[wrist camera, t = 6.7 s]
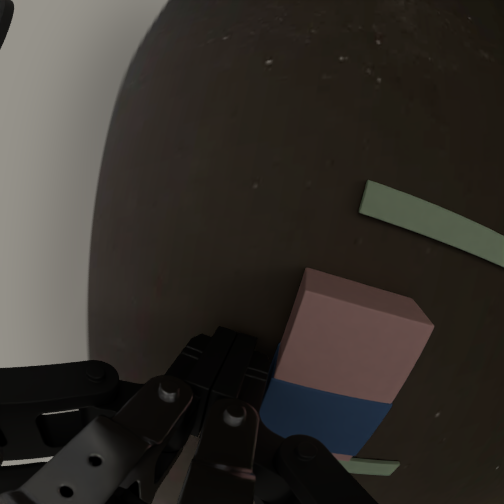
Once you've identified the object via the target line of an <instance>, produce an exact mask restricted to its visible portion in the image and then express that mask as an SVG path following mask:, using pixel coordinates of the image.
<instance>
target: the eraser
mask: <svg viewBox="0 0 504 504" xmlns="http://www.w3.org/2000/svg"><path fill="white" fill-rule="evenodd" d="M433 328H434V325H433V324H432V323H431V321H430V320H429V319H428V317H427V316H426V315H425V314H424V312H423V311H422V310H421V309H420V307H419V306H418V305H417V304H416V303H415V301H414V300H413V299H412V298H409V297H405V296H402V295H399V294H395V293H392V292H389V291H385V290H382V289H378V288H375V287H372V286H368V285H365V284H362V283H358V282H355V281H351V280H348V279H345V278H341V277H338V276H334V275H331V274H328V273H324V272H321V271H318V270H314V269H311V268H305V271H304V275H303V278H302V281H301V284H300V287H299V290H298V293H297V296H296V299H295V302H294V305H293V308H292V311H291V314H290V317H289V320H288V323H287V325H286V328H285V331H284V334H283V337H282V340H281V342H280V343H279V344H278V346H277V349H276V352H275V354H274V357H273V360H272V363H271V365H270V369H269V374H268V378H267V382H266V386H265V391H264V395H263V399H262V403H261V407H260V417H261V420H262V422H263V423H264V425H265V426H266V427H267V428H268V429H270V430H271V431H272V432H274V433H276V434H278V435H280V436H282V437H284V438H287V437H289V436H291V435H296V434H303V435H308V436H311V437H314V438H316V439H318V440H319V441H320V442H322V443H323V444H324V445H325V446H326V448H327V449H328V450H329V451H330V452H331V453H332V454H333V456H334V457H335V458H336V459H337V460H341V461H349V460H350V459H351V458H352V457H353V456H356V454H357V453H358V452H359V451H360V449H361V448H362V447H363V446H364V444H365V443H366V442H367V440H368V439H369V438H370V436H371V435H372V434H373V432H374V431H375V430H376V428H377V427H378V426H379V424H380V423H381V421H382V420H383V419H384V417H385V416H386V414H387V413H388V411H389V410H390V408H391V407H392V401H393V400H394V398H395V397H396V395H397V394H398V392H399V390H400V389H401V387H402V386H403V384H404V382H405V381H406V379H407V377H408V376H409V374H410V372H411V370H412V369H413V367H414V365H415V363H416V361H417V360H418V358H419V356H420V354H421V352H422V350H423V348H424V346H425V345H426V343H427V341H428V339H429V337H430V335H431V333H432V331H433Z"/></svg>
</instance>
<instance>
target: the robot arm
mask: <svg viewBox="0 0 504 504" xmlns="http://www.w3.org/2000/svg"><path fill="white" fill-rule="evenodd" d="M237 334H238V335H237ZM256 341H257V338H255V337H252V336H249V335H246V334H243V333H238V332H236V331H233V330H230V329H227V328H224V327H221V326H219V327H218V328H217V330H216V332H215V333H214V335H213V336H212V337H210V336H207V335H204V334H200V335H198V336H196V337H193V338H192V339H191V340H190V341H189V343H188V344H187V345H186V347H185V348H184V349H183V351H182V352H181V354H180V355H179V356H178V357H177V359H176V360H175V361H174V363H173V364H172V365H171V367H170V368H169V369H168V371H167V372H166V373H165V375H160V376H156V377H153V378H151V379H150V380H149V381H147V382H146V384H137V383H132V382H127V381H122V380H119V375H118V372H117V371H116V369H115V368H114V367H112V366H111V365H110V364H108V363H105V362H103V361H98V360H88V361H80V362H71V363H63V364H52V365H41V366H28V367H13V368H0V504H152V501H153V499H154V496H155V494H156V492H157V490H158V488H159V486H160V485H161V483H162V482H163V480H164V479H165V477H166V476H167V474H168V473H169V471H170V470H171V468H172V466H173V465H174V463H175V462H176V460H177V459H178V457H179V456H180V454H181V452H182V450H183V446H184V445H185V444H186V442H187V440H188V438H189V436H190V434H191V435H194V436H196V437H198V435H199V433H200V431H201V433H200V437H199V438H200V440H199V443H198V446H197V449H196V452H195V455H194V458H193V459H192V461H191V463H190V466H189V469H188V472H187V475H186V478H185V481H184V484H183V487H182V490H181V492H180V495H179V498H178V501H177V504H253V499H254V501H255V503H256V504H378V503H377V502H376V501H375V500H374V499H373V498H372V497H371V496H370V495H369V494H368V492H367V491H366V490H365V489H364V488H363V487H362V486H361V485H360V484H359V483H358V482H357V481H356V480H355V479H354V478H353V477H352V475H351V474H350V473H349V472H348V471H347V470H346V469H345V468H344V467H343V466H342V464H341V463H340V462H339V461H338V460H337V459H336V458H335V457H334V456H333V454H332V453H331V452H330V451H329V450H328V449H327V448H326V446H325V445H324V444H323V443H322V442H320V441H319V440H318V439H316V438H314V437H311V436H308V435H303V434H296V435H291V436H289V437H287V438H284V437H282V436H280V435H278V434H276V433H274V432H272V431H271V430H270V429H268V428H267V427H266V426H265V425H264V423H263V422H262V420H261V417H260V407H261V403H262V399H263V395H264V391H265V386H266V382H267V378H268V374H269V369H270V365H271V363H270V361H269V358H268V356H267V354H263V353H260V352H257V351H254V348H255V344H256ZM73 409H79V411H72V412H65V413H57V414H49V415H42V414H43V413H50V412H59V411H66V410H73ZM201 428H202V429H201ZM51 456H54V457H53V458H52V459H51V460H50V461H48V462H37V463H29V464H21V465H11V466H1V464H2V462H3V461H8V460H23V459H34V458H43V457H51Z"/></svg>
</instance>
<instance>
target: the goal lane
mask: <svg viewBox="0 0 504 504" xmlns="http://www.w3.org/2000/svg"><path fill="white" fill-rule="evenodd" d="M358 212H359V213H361V214H364V215H367V216H370V217H373V218H376V219H379V220H382V221H385V222H388V223H391V224H394V225H397V226H400V227H403V228H405V229H408V230H411V231H414V232H417V233H419V234H422V235H425V236H428V237H430V238H433V239H436V240H438V241H441V242H443V243H446V244H449V245H451V246H454V247H456V248H459V249H461V250H464V251H466V252H469V253H471V254H474V255H476V256H479V257H481V258H483V259H486V260H488V261H490V262H493V263H495V264H497V265H500V266H502V267H504V236H503V235H501V234H499V233H497V232H495V231H493V230H491V229H489V228H487V227H484V226H482V225H480V224H478V223H476V222H474V221H472V220H469V219H467V218H465V217H463V216H461V215H458V214H456V213H454V212H451V211H449V210H447V209H444V208H442V207H440V206H437V205H435V204H432V203H430V202H427V201H425V200H422V199H420V198H417V197H414V196H412V195H409V194H407V193H404V192H401V191H399V190H396V189H393V188H390V187H387V186H385V185H382V184H379V183H376V182H373V181H370V180H367V182H366V186H365V190H364V193H363V197H362V201H361V204H360V208H359V211H358ZM338 461H339V462H340V463H341V464H342V466H343V467H344V468H345V469H346V470H347V471H348V472H349V473H358V474H370V475H390V474H391V473H392V472H393V471H394V470H395V469H396V468H397V467H398V466H399V465H400V464H399V461H383V460H371V459H361V458H351V459H350V460H349V461H341V460H338Z"/></svg>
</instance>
